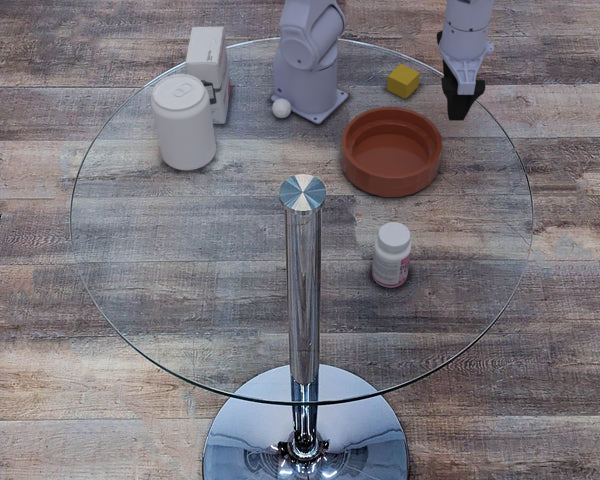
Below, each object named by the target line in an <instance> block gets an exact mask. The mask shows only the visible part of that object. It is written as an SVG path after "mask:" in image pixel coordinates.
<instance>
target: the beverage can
mask: <svg viewBox="0 0 600 480" xmlns="http://www.w3.org/2000/svg"><path fill="white" fill-rule="evenodd" d="M150 106H151V111H152V117H153V120H154V126H155V130H156V135H157V139H158V144H159V145H158V146H159V149H160V154H161V158H162V160H163V161H164V163H165V164H167V165H168V166H169V167H171V168H173V169H175V170H179V171H194V170H198V169H201V168H202V167H205V166H207V165H208V164H209V163H211V161H212V160H213V159H214V157H215V155H216V152H217V145H216V143H217V142H216V135H215V129H214V124H213V121H212V114H211V107H210V100H209V94H208V91H207V89H206V88H205V87H204V85H203V83H202V82H201V81H200V80H199V79H198V78H196V77H194V76H191V75H187V73H176V74H171V75H168V76H166V77H164V78H162V79H161V80H159V81H158V82H157V83H156V84H155V85H154V87H153V89H152V93H151V96H150Z"/></svg>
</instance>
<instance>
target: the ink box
mask: <svg viewBox="0 0 600 480" xmlns="http://www.w3.org/2000/svg"><path fill="white" fill-rule="evenodd" d="M225 32H226V31H225V26H193V27H192V28H191V31H190V37H189V41H188V48H187V52H186V57H185V63H184V64H185V71H186V74H187V75H191V76H194V77H196V78H198V79H199V80H200V81H201V82H202V83H203V85H204V87H205V88H206V89H207V91H208V94H209V100H210V107H211V114H212V121H213V125H215V124H216V125H217V124H218V125H224V124H226V121H227V116H228V110H229V102H230V101H229V100H230V94H231V79H230V70H229V61H228V51H227V41H226V33H225Z"/></svg>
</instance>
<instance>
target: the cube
mask: <svg viewBox="0 0 600 480" xmlns="http://www.w3.org/2000/svg"><path fill="white" fill-rule="evenodd" d="M420 75H421V72H419V71H417V70H415V69H413V68H411V67H409V66H407V65H404V64H402V63H400V64H399V65H398V66H396V68H394V69H393V70H392V71H391V72H390V74H388V75H387V82H386V91H388V92H390V93H392V94H394V95H396V96H399V97H400V98H403V99H405V100H407V99H408V98H409V97H410V96H411V95H412V93H414V92H415V91H416V90H417V89H418V88H419V84H420Z"/></svg>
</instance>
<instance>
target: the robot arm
mask: <svg viewBox="0 0 600 480" xmlns="http://www.w3.org/2000/svg"><path fill="white" fill-rule="evenodd" d="M494 4H495V0H446V6H445V12H444V19H443V27H442V30H440V31H437V33H436V44H437V45H438V53H439V55H440V56H441V58H442V72H443V73H442V75H443V76H441V78H440V82H441V89H442V92H443V95H444V97H445V98H446V108H447V109H446V110H447V118H448V121H450V122H451V121H453V122H457V121H460V122H461V121H464V120H465V119H466V117H467V116H468V113H469V112H470V109H471V108H472V106H473V104H475V102H476V101H477V100H478V99H479V98H480V97H481V96H482V95H484V93H485V91H486V81H485V79H476V78H477V76H478V73H479V71H480V68H481V66H482V63H483V61H484V58H485V56H491V55H493V54H494V51H495V46H494V41H491V40H488V34H489V30H490V29H489V28H490V23H491V18H492V15H493V9H494ZM278 28H279V32H280V38H279V43H278V48H277V50H276V51H275V54H274V57H273V60H272V81H273V95H271V97H270V100H271V101H272V102H273V103H274V102H275V101H276V100H278V99H281V98H282V99H286V100H287V101H289V102H290V104H291V108H292V109H291V113H295V114H296V115H297V116H300V117H302V118H304V119H305V120H308V121H310V122H312V123H314V124H315V125H320V124H322V123H323V122H324V121H325V120H326V119H327V118H328V117H329V116H330V115H331V114H333V112H335V110H336V109H338V107H340V106H341V104H343V103H344V102H345V101H346V100H347V99H348V98H349V93H347V92H346V91H344V90H341V89H340V88H338V56H339V55H338V54H339V53H338V51H339V50H338V45H339V43H338V42H339V38H340V36H341V35H343V34H344V32H345V30H346V28H347V19H346V16H345V14H344V12H343V10H342V9H341V7H340V6H339V4H338V2H337V0H284V5H283V9H282V12H281V14H280V19H279V22H278Z"/></svg>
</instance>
